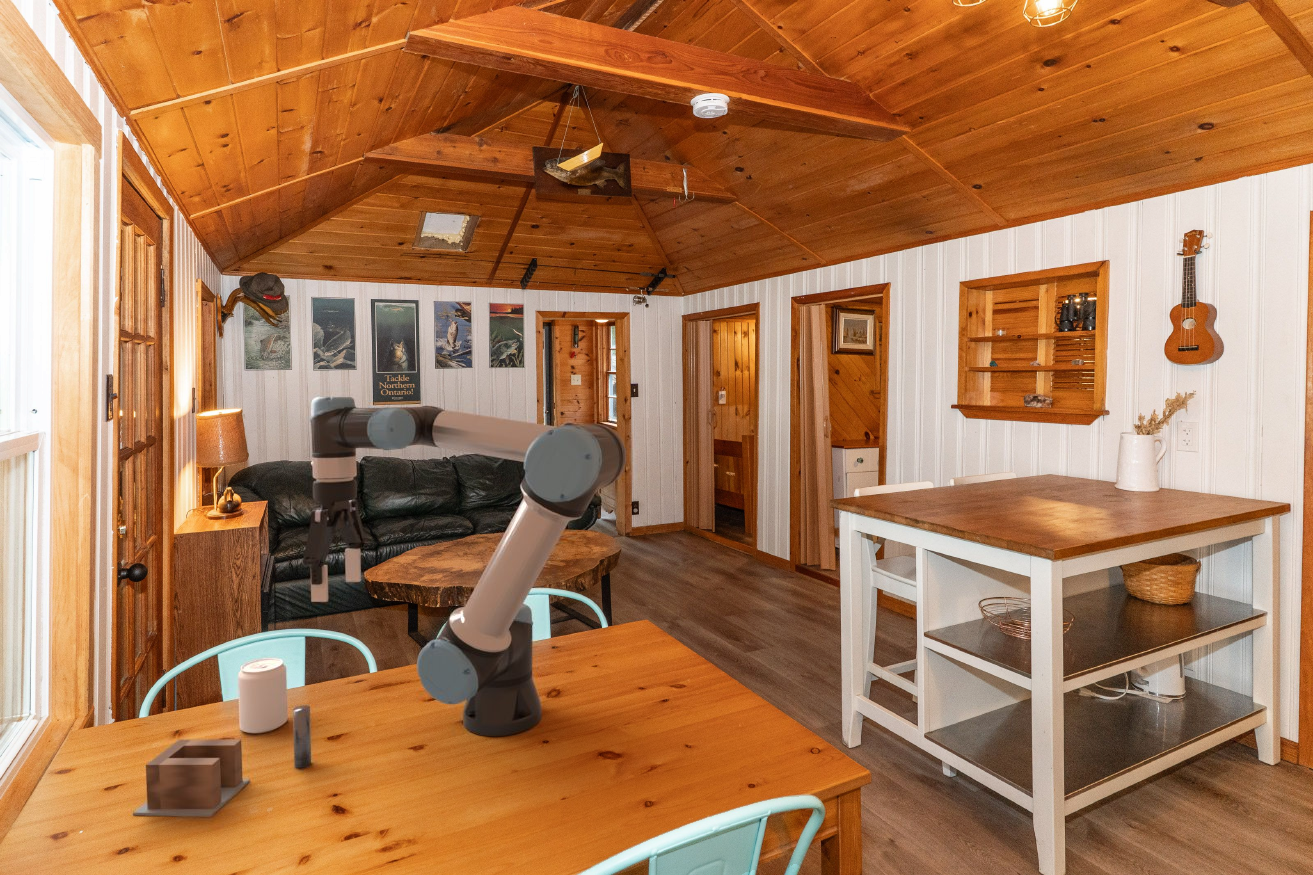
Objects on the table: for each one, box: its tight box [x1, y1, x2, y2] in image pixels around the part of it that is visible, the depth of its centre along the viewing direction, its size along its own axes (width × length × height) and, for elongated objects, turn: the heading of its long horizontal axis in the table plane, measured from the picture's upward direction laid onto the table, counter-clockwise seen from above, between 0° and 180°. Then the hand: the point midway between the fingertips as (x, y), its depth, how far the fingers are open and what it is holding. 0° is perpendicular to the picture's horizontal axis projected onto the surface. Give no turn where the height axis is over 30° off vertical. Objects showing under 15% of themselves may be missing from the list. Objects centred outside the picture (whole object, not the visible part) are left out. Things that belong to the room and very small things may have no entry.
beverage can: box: [237, 657, 289, 734], centre depth 138 cm, size 8×8×12 cm
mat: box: [132, 778, 251, 818], centre depth 114 cm, size 12×10×1 cm
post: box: [292, 704, 312, 770], centre depth 124 cm, size 3×3×10 cm
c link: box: [145, 738, 244, 809], centre depth 114 cm, size 10×8×7 cm
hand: (337, 590), depth 136 cm, fingers open, 13 cm apart
